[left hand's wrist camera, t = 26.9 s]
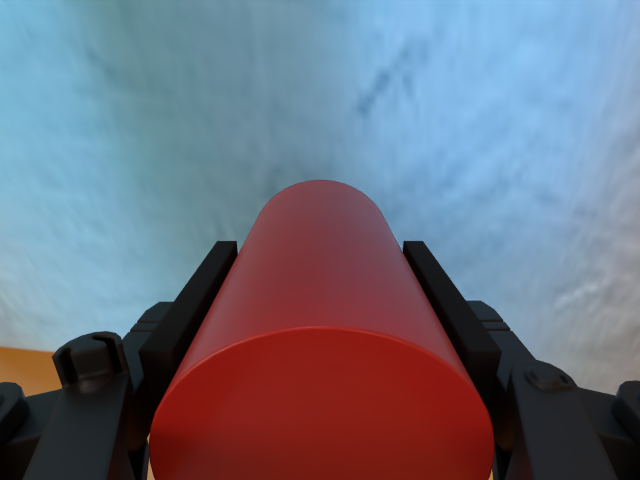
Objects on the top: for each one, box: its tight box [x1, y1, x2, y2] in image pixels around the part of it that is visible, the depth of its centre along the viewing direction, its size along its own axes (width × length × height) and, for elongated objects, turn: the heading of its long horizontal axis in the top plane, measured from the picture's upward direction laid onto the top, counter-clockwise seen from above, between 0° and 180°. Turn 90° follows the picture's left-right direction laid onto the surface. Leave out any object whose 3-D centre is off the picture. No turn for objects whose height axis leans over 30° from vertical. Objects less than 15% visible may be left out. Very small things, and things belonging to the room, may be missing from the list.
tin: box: [149, 180, 495, 480], centre depth 12 cm, size 7×7×11 cm
